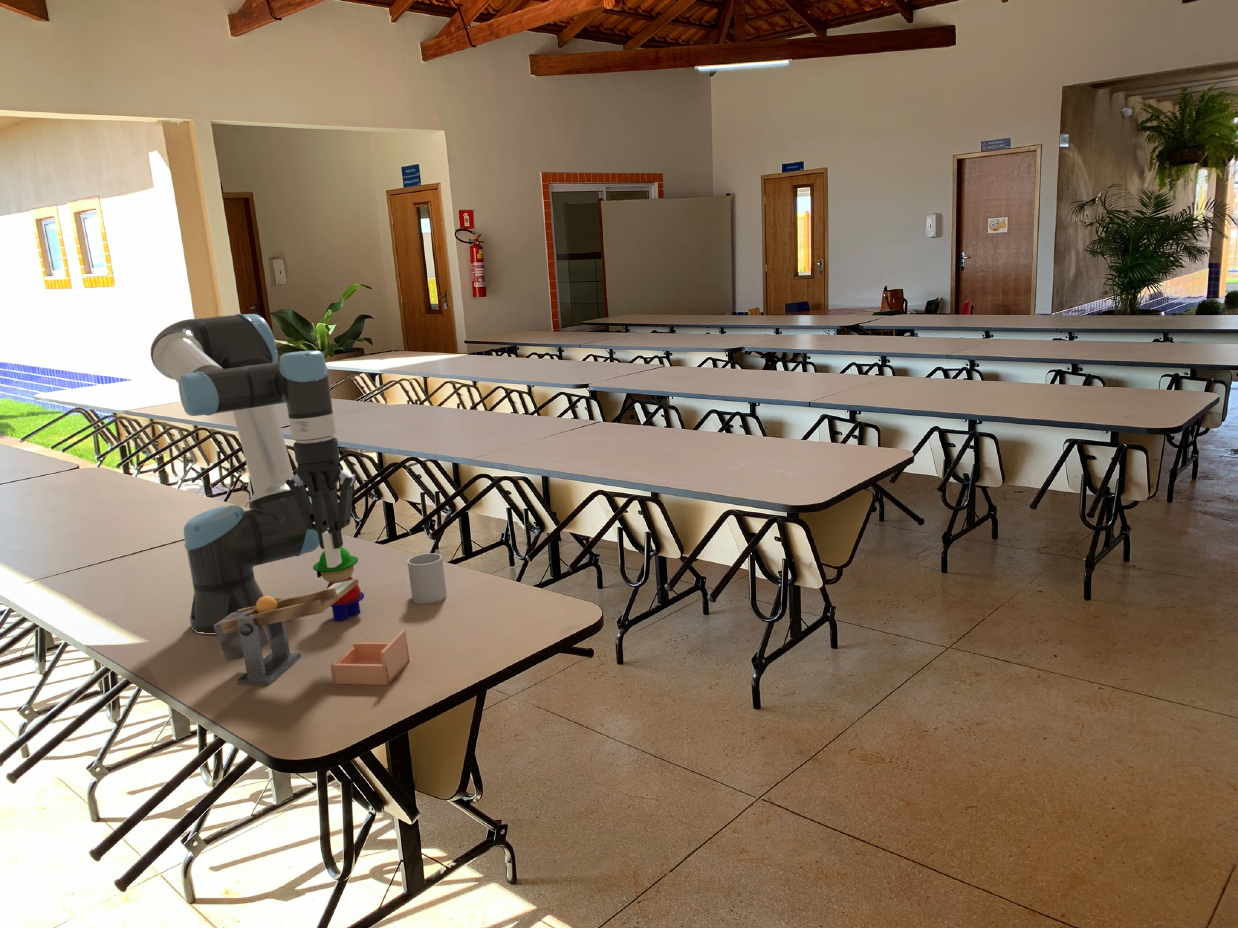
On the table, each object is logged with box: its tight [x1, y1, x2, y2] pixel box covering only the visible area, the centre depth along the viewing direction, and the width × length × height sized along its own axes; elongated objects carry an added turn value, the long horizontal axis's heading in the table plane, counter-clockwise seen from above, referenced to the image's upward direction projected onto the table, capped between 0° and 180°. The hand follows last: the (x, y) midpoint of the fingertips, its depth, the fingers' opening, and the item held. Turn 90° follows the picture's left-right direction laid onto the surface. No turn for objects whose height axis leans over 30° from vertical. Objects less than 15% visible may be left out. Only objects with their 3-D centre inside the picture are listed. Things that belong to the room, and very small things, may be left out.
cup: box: [407, 552, 447, 606], centre depth 194 cm, size 7×10×9 cm
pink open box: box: [330, 629, 410, 686], centre depth 160 cm, size 10×9×6 cm
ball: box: [256, 595, 277, 613], centre depth 161 cm, size 4×4×4 cm
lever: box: [213, 578, 359, 662], centre depth 165 cm, size 22×14×8 cm, turn 79°
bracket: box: [236, 598, 302, 686], centre depth 163 cm, size 6×11×12 cm, turn 170°
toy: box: [312, 546, 365, 622], centre depth 186 cm, size 9×9×15 cm
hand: (334, 564), depth 166 cm, fingers closed
